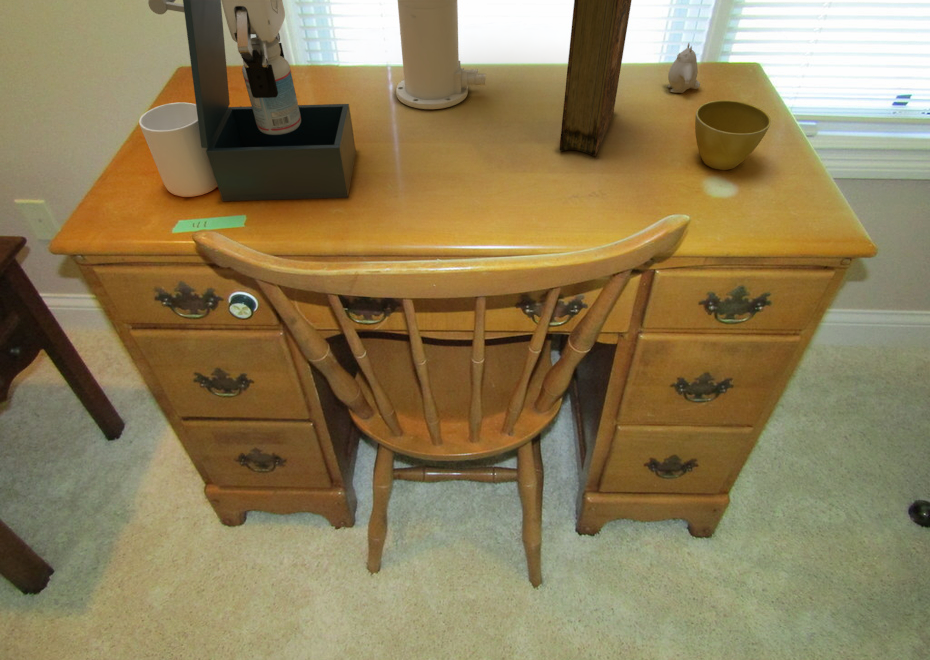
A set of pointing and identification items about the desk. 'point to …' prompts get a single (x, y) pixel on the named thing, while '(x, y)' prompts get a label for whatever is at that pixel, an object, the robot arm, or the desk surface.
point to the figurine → (684, 72)
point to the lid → (204, 60)
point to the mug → (178, 149)
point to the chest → (284, 156)
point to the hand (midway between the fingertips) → (270, 83)
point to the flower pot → (729, 132)
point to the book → (593, 72)
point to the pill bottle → (282, 109)
